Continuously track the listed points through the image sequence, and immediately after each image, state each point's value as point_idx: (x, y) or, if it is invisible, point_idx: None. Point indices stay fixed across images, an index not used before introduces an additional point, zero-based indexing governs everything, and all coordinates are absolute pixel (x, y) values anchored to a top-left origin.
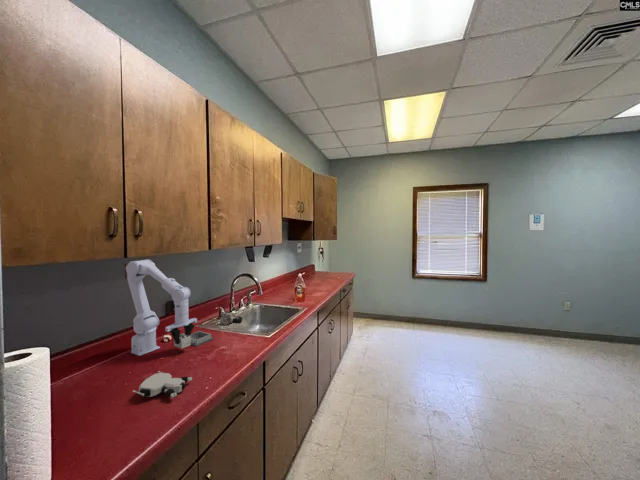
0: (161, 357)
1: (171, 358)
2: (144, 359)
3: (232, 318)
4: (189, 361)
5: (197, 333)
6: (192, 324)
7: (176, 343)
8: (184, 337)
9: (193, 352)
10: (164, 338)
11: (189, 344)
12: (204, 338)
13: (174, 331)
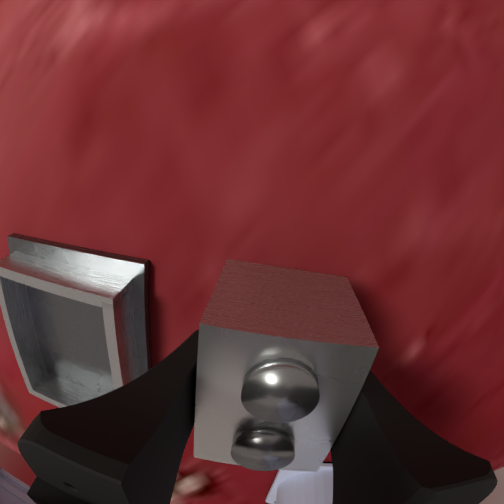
0: (403, 364)
1: (411, 282)
2: (429, 418)
3: None
4: (413, 71)
5: (47, 388)
6: (44, 474)
7: None
8: (306, 358)
9: (256, 180)
10: (181, 494)
11: (245, 265)
12: (48, 273)
13: (487, 495)
